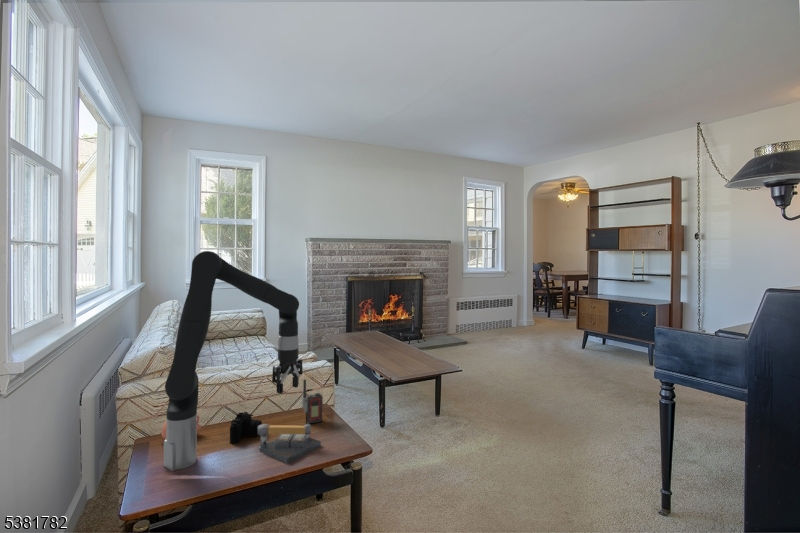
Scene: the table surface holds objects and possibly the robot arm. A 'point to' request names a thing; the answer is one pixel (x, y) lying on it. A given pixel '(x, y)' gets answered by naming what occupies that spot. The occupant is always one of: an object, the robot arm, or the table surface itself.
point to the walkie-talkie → (312, 406)
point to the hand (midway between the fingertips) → (287, 390)
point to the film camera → (243, 427)
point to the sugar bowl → (166, 428)
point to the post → (262, 440)
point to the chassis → (290, 447)
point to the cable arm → (283, 429)
